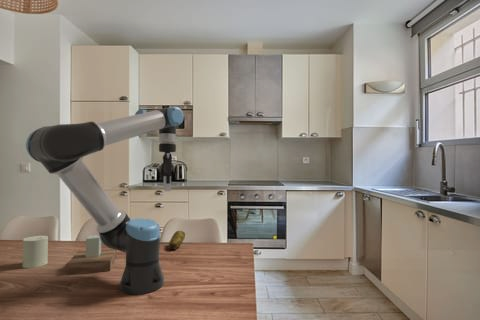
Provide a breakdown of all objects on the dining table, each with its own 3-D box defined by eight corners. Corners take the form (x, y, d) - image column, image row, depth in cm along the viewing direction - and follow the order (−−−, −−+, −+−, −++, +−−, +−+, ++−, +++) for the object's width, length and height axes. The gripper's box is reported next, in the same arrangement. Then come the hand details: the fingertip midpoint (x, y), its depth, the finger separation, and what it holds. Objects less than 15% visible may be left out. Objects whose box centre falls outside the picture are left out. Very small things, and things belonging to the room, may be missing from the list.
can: (34, 269, 119) (35, 240, 119) (16, 267, 121) (17, 239, 121) (53, 261, 128) (53, 235, 128) (36, 260, 130) (36, 233, 130)
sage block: (98, 256, 122) (98, 238, 122) (85, 257, 121) (86, 238, 121) (101, 253, 127) (101, 235, 127) (88, 254, 125) (89, 235, 126)
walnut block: (110, 272, 118) (110, 260, 118) (66, 275, 114) (66, 263, 114) (116, 259, 133) (116, 249, 133) (78, 262, 129) (78, 251, 129)
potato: (162, 249, 148) (162, 234, 148) (178, 243, 159) (178, 229, 160) (174, 251, 144) (174, 235, 144) (190, 245, 156) (190, 230, 156)
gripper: (177, 141, 120) (177, 192, 119) (174, 145, 143) (173, 187, 143) (159, 141, 117) (159, 192, 117) (158, 144, 141) (158, 187, 141)
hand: (167, 189), depth 130 cm, fingers open, 13 cm apart
